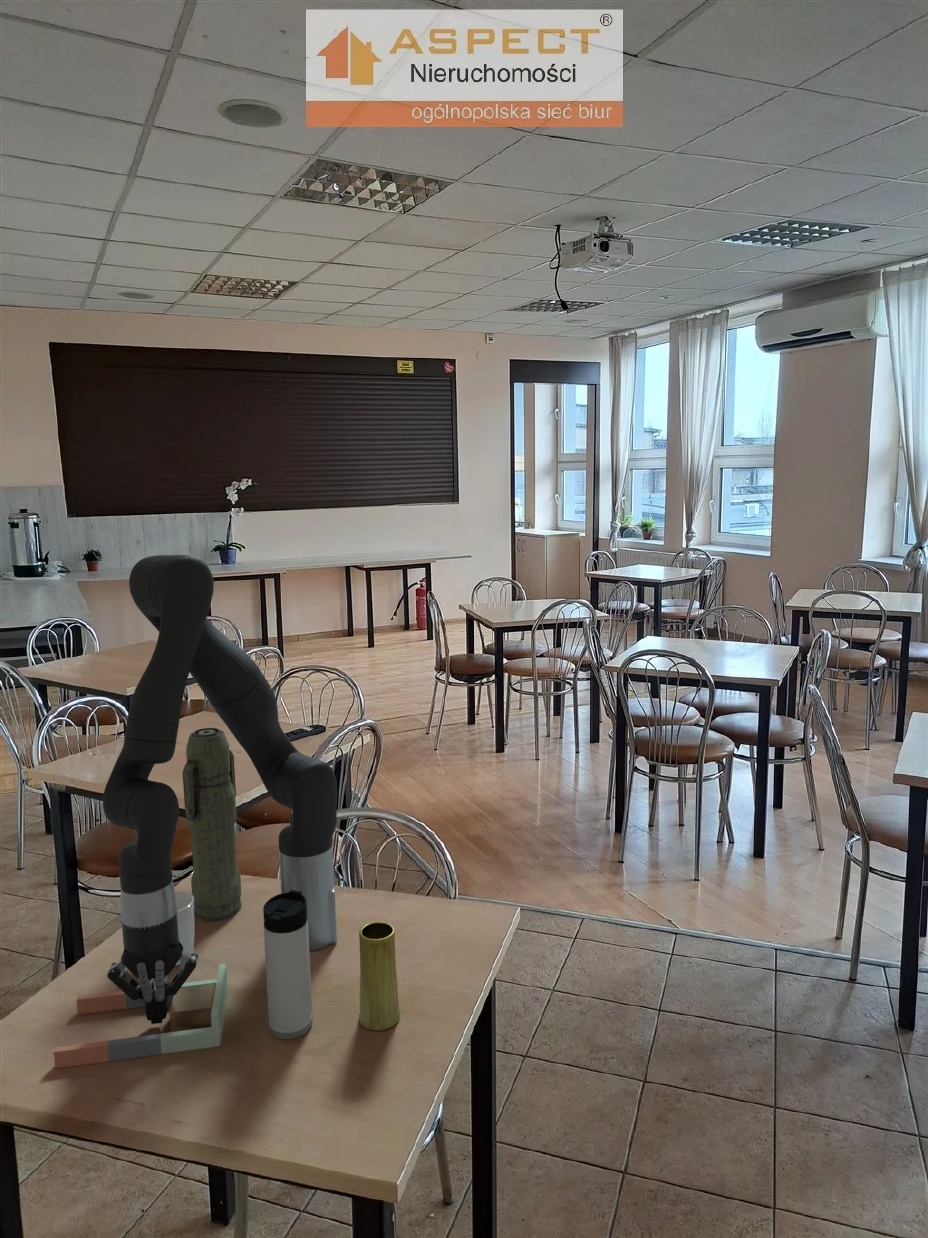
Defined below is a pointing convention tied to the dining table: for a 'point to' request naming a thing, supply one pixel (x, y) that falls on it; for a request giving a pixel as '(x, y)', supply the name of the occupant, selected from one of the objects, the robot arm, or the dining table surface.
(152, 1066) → the dining table surface
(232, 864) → the thermos
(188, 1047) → the channel
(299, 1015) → the travel mug
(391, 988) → the vase
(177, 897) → the white cup
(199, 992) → the walnut block
